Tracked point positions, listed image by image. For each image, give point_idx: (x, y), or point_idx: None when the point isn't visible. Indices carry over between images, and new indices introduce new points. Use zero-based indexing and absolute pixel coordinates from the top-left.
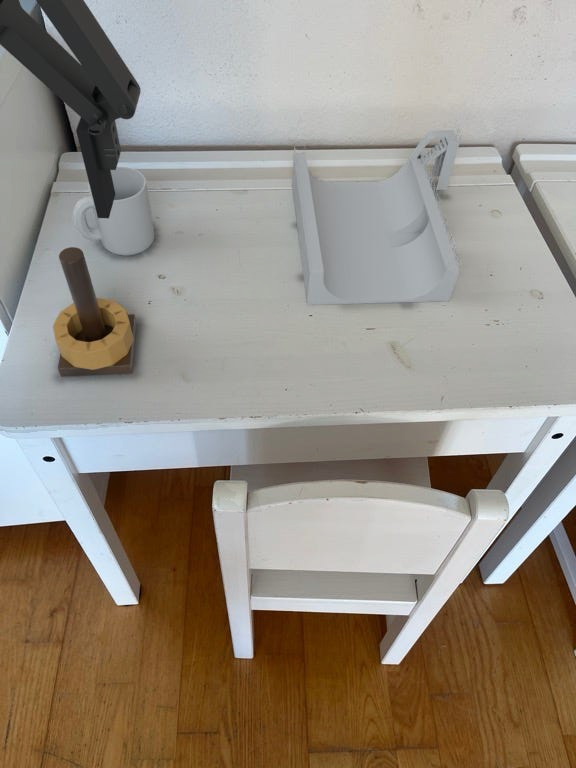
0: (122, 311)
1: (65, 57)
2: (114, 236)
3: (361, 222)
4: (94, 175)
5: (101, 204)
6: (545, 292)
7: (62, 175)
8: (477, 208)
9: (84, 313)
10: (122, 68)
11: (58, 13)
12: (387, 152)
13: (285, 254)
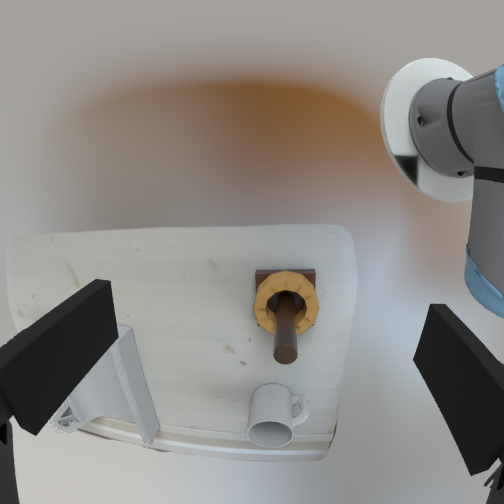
0: (260, 321)
1: None
2: (278, 396)
3: (109, 388)
4: (52, 314)
5: (86, 289)
6: (17, 314)
7: (326, 445)
8: None
9: (286, 312)
10: None
11: None
12: (109, 435)
13: (153, 373)
